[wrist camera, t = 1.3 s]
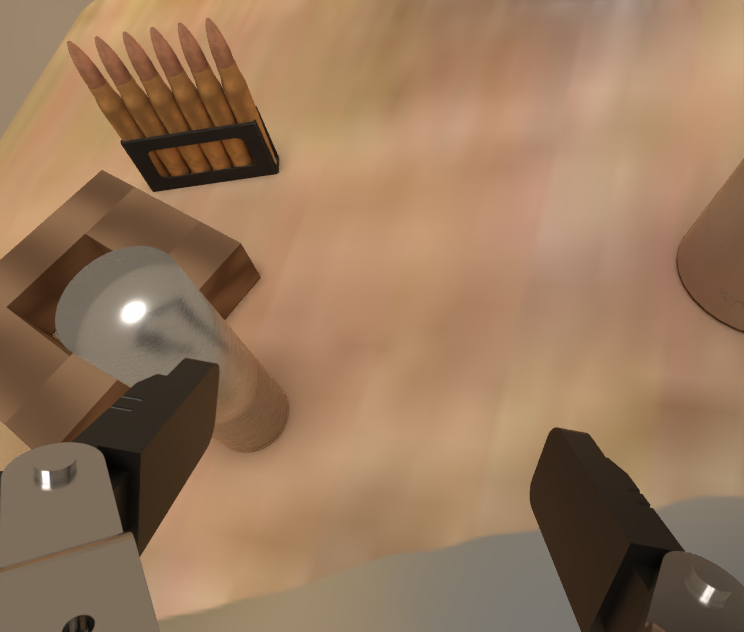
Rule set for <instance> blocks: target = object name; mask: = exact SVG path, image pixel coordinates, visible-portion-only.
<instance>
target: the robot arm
mask: <svg viewBox="0 0 744 632" xmlns="http://www.w3.org/2000/svg"><path fill="white" fill-rule="evenodd" d="M677 264H678V270H679V274H680V276H681V279H682V281H683V284H684V286H685V287H686V288H687V290H688V291H689V293H690V294H691V296H692V297H693V298H694V299H695V300H696V301H697V302H698V303H699V304H700V305H701V306H702V307H703V308H704V309H705V310H706V311H708V312H709V313H710V314H712V315H713V316H715V317H716V318H718V319H719V320H720V321H722V322H724V323H726V324H728V325H730V326H732V327H734V328H736V329H739V330H742V331H744V159H743V160H742V162H741V163H740V164H739V165H738V167H737V168H736V169H735V171H734V172H733V173H732V175H731V176H730V177H729V179H728V180H727V181H726V183H725V184H724V185H723V187H722V188H721V189H720V191H719V192H718V193H717V194H716V195H715V197H714V198H713V199H712V201H711V202H710V203H709V205H708V206H707V207H706V209H705V210H704V211H703V212H702V214H701V215H700V216H699V218H698V219H697V220H696V222H695V223H694V224H693V226H692V227H691V228H690V230H689V231H688V232H687V234H686V235H685V236H684V238H683V240H682V242H681V244H680V246H679V249H678V256H677ZM219 375H220V369H219V365H218V364H217V363H212V362H206V361H201V360H196V359H190V358H184V359H183V360H182V361H181V362H180V363H179V364H178V365H177V366H176V367H175V368H174V369H173V370H172V371H171V372H170V373H169V374H168V375H167V376H166V375H161V374H156V375H153V376H151V377H149V378H146V379H144V380H142V381H139V382H137V383H136V384H135V385H133V386H132V387H131V388H130V389H129V390H128V391H127V392H126V393H125V394H124V395H123V397H122V398H121V397H120V398H119V399H118V400H117V401H116V402H115V403H114V404H113V405H112V406H111V408H108V409H107V410H106V411H105V412H104V413H103V414H101V415H100V416H99V417H98V418H97V419H96V420H95V421H94V422H93V423H92V424H90V425H89V426H88V427H87V428H86V429H85V430H84V431H83V432H82V433H81V434H79V435H78V436H77V437H76V438H75V439H74V440H73V441H72V442H64V443H54V444H49V445H44V446H41V447H38V448H35V449H32V450H30V451H27V452H26V453H24V454H22V455H20V456H18V457H17V458H15V459H14V460H13V461H12V462H10V463H9V464H8V465H7V467H6V468H5V469H4V471H0V632H160V630H159V626H158V623H157V619H156V615H155V612H154V608H153V604H152V601H151V597H150V593H149V590H148V586H147V582H146V579H145V575H144V571H143V568H142V564H141V560H140V556H141V554H142V553H143V551H144V549H145V548H146V546H147V544H148V543H149V541H150V540H151V538H152V536H153V535H154V533H155V532H156V530H157V528H158V527H159V525H160V523H161V522H162V520H163V519H164V517H165V515H166V514H167V512H168V510H169V509H170V507H171V506H172V504H173V502H174V501H175V499H176V498H177V496H178V494H179V493H180V491H181V489H182V488H183V486H184V485H185V483H186V481H187V480H188V478H189V477H190V475H191V473H192V472H193V470H194V468H195V467H196V465H197V464H198V462H199V460H200V459H201V457H202V455H203V454H204V452H205V451H206V449H207V447H208V445H209V443H210V440H211V438H212V434H213V431H214V426H215V419H216V408H217V397H218V386H219ZM530 503H531V507H532V510H533V513H534V515H535V518H536V520H537V523H538V525H539V528H540V530H541V533H542V535H543V538H544V540H545V543H546V545H547V547H548V550H549V552H550V555H551V557H552V560H553V562H554V565H555V567H556V570H557V572H558V575H559V577H560V580H561V582H562V584H563V587H564V590H565V592H566V595H567V597H568V600H569V602H570V604H571V607H572V610H573V612H574V615H575V617H576V619H577V622H578V625H579V627H580V630H581V632H744V586H743V585H742V584H741V583H739V582H738V581H737V580H736V579H735V578H734V577H733V576H732V575H730V574H729V573H728V572H726V571H725V570H723V569H722V568H721V567H719V566H717V565H716V564H714V563H712V562H710V561H708V560H706V559H704V558H702V557H699V556H697V555H695V554H692V553H688V552H685V551H684V550H683V548H682V547H681V546H680V544H679V543H678V541H677V540H676V539H675V537H674V536H673V535H672V533H671V532H670V531H669V529H668V528H667V527H666V525H665V524H664V523H663V521H662V520H661V518H660V517H659V516H658V514H657V513H656V512H655V510H654V509H653V508H650V504H649V502H648V501H647V500H646V498H645V497H644V496H643V494H640V490H639V489H638V488H637V486H636V485H635V483H634V482H633V481H632V479H631V478H630V477H629V475H628V474H627V473H626V472H624V471H623V470H622V469H621V468H620V467H618V466H617V465H616V464H615V463H614V462H612V461H611V460H610V459H609V458H606V457H605V456H604V454H603V453H602V451H601V450H600V449H599V447H598V446H597V444H596V443H595V442H594V440H593V439H592V437H591V436H590V435H589V434H588V433H584V432H578V431H573V430H567V429H562V428H553V429H552V430H551V431H550V433H549V435H548V437H547V440H546V443H545V445H544V448H543V451H542V453H541V456H540V459H539V462H538V464H537V467H536V470H535V473H534V475H533V478H532V481H531V486H530Z"/></svg>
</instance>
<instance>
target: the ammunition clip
mask: <svg viewBox="0 0 744 632" xmlns="http://www.w3.org/2000/svg"><path fill="white" fill-rule="evenodd" d="M206 32H207V38H208V42H209V46H210V49H211V52H212V55H213V58H214V60H215V63H216V66H217V69H218V72H219V74H220V77H221V82H222V86H223V88H222V86H221V84H220V82H219V81H218V79H217V78H216V77H215V75H214V73H213V71H212V69H211V67H210V65H209V64H208V62H207V60H206V58H205V56H204V54H203V52H202V50H201V48H200V46H199V44H198V43H197V41H196V40H195V38H194V37H193V35H192V34H191V33H190V31H189V30H188V29H187V28H186V27H185V26H184V25H183V24H182V23H180V22H179V23H178V34H179V39H180V43H181V46H182V50H183V52H184V55H185V58H186V60H187V62H188V65H189V67H190V69H191V72H192V75H193V77H194V79H195V82H196V86H197V89H196V87H195V86H194V84H193V83H192V82H191V80H190V79H189V78H188V76H187V74H186V72H185V70H184V68H183V67H182V66H181V64H180V62H179V60H178V58H177V56H176V54H175V53H174V51H173V50H172V48H171V47H170V45H169V44H168V42H167V41H166V40H165V39H164V37H163V36H162V35H161V34H160V33H159V32H158V31H157V30H156V29H155V28H154V27H151V28H150V34H151V40H152V43H153V47H154V50H155V53H156V55H157V58H158V60H159V63H160V65H161V67H162V69H163V71H164V72H165V75H166V78H167V80H168V82H169V84H170V86H171V89H172V92H171V90H170V89H169V88H168V86H167V85H166V84H165V83H164V81H163V80H162V78H161V76H160V75H159V73H158V72H157V71H156V69H155V67H154V65H153V64H152V62H151V60H150V59H149V57H148V56H147V54H146V53H145V51H144V50H143V49H142V48H141V46H140V45H139V44H138V43H137V42H136V41H135V39H134V38H133V37H132V36H131V35H129V34H128V33H127V32H123V40H124V44H125V48H126V51H127V53H128V56H129V58H130V60H131V63H132V65H133V67H134V69H135V70H136V72H137V74H138V76H139V77H140V80H141V82H142V84H143V86H144V88H145V90H146V92H147V95H148V97H147V95H146V94H145V93H144V91H143V90H142V89H141V88H140V87H139V86H138V84H137V83H136V81H135V80H134V78H133V77H132V75H130V73H129V71H128V70H127V68H126V67H125V65H124V64H123V62H122V61H121V60H120V58H119V57H118V56H117V54H116V53H115V52H114V51H113V50H112V49H111V48H110V46H109V45H108V44H107V43H106V42H104V41H103V40H102V39H101V38H99V37H98V36H96V37H95V43H96V47H97V50H98V53H99V56H100V58H101V60H102V62H103V64H104V66H105V68H106V70H107V72H108V74H109V75H110V77H111V78H112V80H113V82H114V84H115V86H116V87H117V89H118V91H119V92H120V95H121V97H122V98H121V97H120V96H119V95H118V94H117V93H116V92H115V91H114V90H113V89H112V87H111V86H110V84H109V83H108V82H107V80H106V79H105V78H104V77H103V75H102V74H101V72H100V71H99V70H98V68H97V67H96V66H95V64H94V63H93V62H92V61H91V59H90V58H89V57H88V56H87V55H86V54H85V53H84V52H83V51H82V50H81V49H80V48H79V47H78V46H76V45H75V44H74V43H72V42H71V41H68V42H67V46H68V50H69V53H70V55H71V58H72V60H73V62H74V64H75V66H76V68H77V70H78V72H79V73H80V75H81V77H82V78H83V80H84V81H85V83H86V84H87V85H88V88H89V89H90V91H91V92H92V94H93V95H94V97H95V99H96V101H97V103H98V105H99V107H100V109H101V111H102V112H103V114H104V115H105V116H106V118H107V119H108V121H109V122H110V123H111V125H112V126H113V128H114V129H115V130H116V132H117V133H118V135H119V136H120V137H121V139H122V140H121V145H122V146H123V148H124V149H125V151H126V152H127V154H128V155H129V157H130V158H131V160H132V161H133V163H134V164H135V165H136V167H137V168H138V170H139V172H140V173H141V175H142V176H143V178H144V179H145V181H146V182H147V184H148V185H149V187H150V188H151V190H152V191H153V192H156V191H163V190H170V189H177V188H184V187H191V186H198V185H204V184H211V183H218V182H225V181H232V180H239V179H246V178H253V177H259V176H266V175H273V174H277V173H278V172H279V156H278V154H277V152H276V150H275V147H274V145H273V143H272V140H271V138H270V136H269V134H268V131H267V129H266V127H265V124H264V122H263V120H262V118H261V115H260V113H259V111H258V109H257V106H255V104H254V101H253V99H252V96H251V94H250V91H249V89H248V86H247V83H246V81H245V79H244V77H243V76H242V74H241V72H240V71H239V69H238V67H237V64H236V62H235V60H234V59H233V56H232V54H231V51H230V49H229V47H228V45H227V43H226V41H225V39H224V37H223V35H222V34H221V32H220V31H219V29H218V28H217V26H216V25H215V24H214V23H213V21H212V20H211V19H209V18H206ZM197 90H198V91H197ZM223 90H224V91H223ZM224 92H225V93H224ZM225 94H226V95H225ZM122 99H123V100H122ZM227 99H228V100H227ZM228 101H229V102H228ZM231 108H232V109H231Z"/></svg>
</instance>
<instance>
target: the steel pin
mask: <svg viewBox="0 0 744 632" xmlns="http://www.w3.org/2000/svg"><path fill="white" fill-rule="evenodd" d="M55 326H56V331H57V335H58V337H59V339H60V341H61V342H62V344H63V345H64V346H65V347H66V348H67V349H68V350H69V351H71V352H72V353H74V354H75V355H77V356H79V357H80V358H82V359H84V360H85V361H87V362H89V363H90V364H92V365H94V366H95V367H97V368H99V369H100V370H102V371H104V372H105V373H107V374H109V375H110V376H112V377H113V378H115V379H117V380H118V381H120V382H122V383H123V384H125V385H127V386H128V387H130V388H131V387H132V386H133V385H135V384H136V383H137V382H139V381H142V380H144V379H146V378H149V377H151V376H153V375H156V374H161V375H166V376H167V375H168V374H169V373H170V372H171V371H172V370H173V369H174V368H175V367H176V366H177V365H178V364H179V363H180V362H181V361H182V360H183V359H184V358H190V359H196V360H201V361H206V362H212V363H217V364H218V365H219V369H220V375H219V386H218V397H217V408H216V419H215V426H214V431H213V434H212V437H213V438H214V439H216V440H218V441H219V442H221V443H223V444H224V445H226V446H228V447H229V448H231V449H233V450H235V451H239V452H254V451H258V450H261V449H263V448H265V447H267V446H268V445H270V444H271V443H273V442H274V441H275V440H276V439H277V438H278V437H279V435H280V434H281V433H282V431H283V430H284V427H285V425H286V423H287V420H288V415H289V405H288V400H287V397H286V395H285V393H284V392H283V390H282V389H281V388H280V387H279V385H278V384H277V383H276V382H275V381H274V379H273V378H272V377H271V376H270V375H269V373H268V372H267V371H266V370H265V368H264V367H263V366H262V365H261V364H260V362H259V361H258V360H257V359H256V358H255V356H254V355H253V354H252V353H251V352H250V350H249V349H248V348H247V347H246V346H245V344H244V343H243V342H242V341H241V340H240V338H239V337H238V336H237V335H236V334H235V332H234V331H233V330H232V329H231V328H230V326H229V325H228V324H227V323H226V322H225V320H224V319H223V318H222V317H221V316H220V314H219V313H218V312H217V311H216V310H215V308H214V307H213V306H212V305H211V304H210V302H209V301H208V300H207V299H206V298H205V296H204V295H203V294H202V293H201V292H200V290H199V289H198V288H197V287H196V286H195V284H194V283H193V282H192V281H191V279H190V278H189V277H188V276H187V275H186V273H185V272H184V271H183V270H182V269H181V267H180V266H179V265H178V264H177V263H176V261H175V260H174V259H173V258H172V257H171V256H170V255H168V254H167V253H165V252H164V251H161V250H159V249H156V248H153V247H148V246H130V247H125V248H121V249H117V250H114V251H111V252H109V253H107V254H105V255H103V256H100V257H99V258H97V259H95V260H94V261H92V262H91V263H89V264H88V265H87V266H85V267H84V268H83V269H82V270H81V271H80V272H79V273H78V274H77V275H76V276H75V277H74V278H73V279H72V280H71V282H70V283H69V284H68V286H67V287H66V289H65V290H64V292H63V294H62V296H61V298H60V300H59V303H58V306H57V310H56V315H55Z"/></svg>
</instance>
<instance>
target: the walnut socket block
mask: <svg viewBox="0 0 744 632" xmlns="http://www.w3.org/2000/svg"><path fill="white" fill-rule="evenodd" d="M130 246H148V247H153V248H156V249H159V250H161V251H164V252H165V253H167V254H168V255H170V256H171V257H172V258H173V259H174V260H175V261H176V263H177V264H178V265H179V266H180V267H181V269H182V270H183V271H184V272H185V273H186V275H187V276H188V277H189V278H190V279H191V281H192V282H193V283H194V284H195V286H196V287H197V288H198V289H199V290H200V292H201V293H202V294H203V295H204V296H205V298H206V299H207V300H208V301H209V302H210V304H211V305H212V306H213V307H214V308H215V310H216V311H217V312H218V313H219V314H220V316H221V317H222V318H223V319H224V320H225V318H226V317H227V316H228V315H229V314H230V313H231V311H232V310H233V309H234V308H235V307H236V306H237V304H238V303H239V302H240V301H241V300H242V298H243V297H244V296H245V295H246V294H247V293H248V291H249V290H250V289H251V288H252V287H253V286H254V284H255V283H256V282H257V281H258V280H259V279H260V275H259V274H258V272H257V270H256V268H255V267H254V265H253V263H252V262H251V260H250V258H249V256H248V255H247V253H246V251H245V250H244V248H243V246H242V245H241V243H239V242H238V241H236V240H234V239H232V238H230V237H228V236H226V235H224V234H222V233H220V232H219V231H217V230H215V229H213V228H211V227H209V226H207V225H205V224H203V223H202V222H200V221H198V220H196V219H194V218H192V217H190V216H188V215H186V214H184V213H183V212H181V211H179V210H177V209H175V208H173V207H171V206H169V205H167V204H166V203H164V202H162V201H160V200H158V199H156V198H154V197H152V196H150V195H149V194H147V193H145V192H143V191H141V190H139V189H137V188H135V187H133V186H131V185H130V184H128V183H126V182H124V181H122V180H120V179H118V178H116V177H114V176H113V175H111V174H109V173H107V172H105V171H103V170H101V171H100V172H99V173H98V174H97V175H96V176H95V177H93V178H92V179H91V180H90V181H89V182H88V183H87V184H86V185H84V186H83V187H82V188H81V189H80V190H79V191H78V192H76V193H75V194H74V195H73V196H72V197H71V198H70V199H69V200H67V201H66V202H65V203H64V204H63V205H62V206H61V207H60V208H58V209H57V210H56V211H55V212H54V213H53V214H52V215H51V216H49V217H48V218H47V219H46V220H45V221H44V222H43V223H41V224H40V225H39V226H38V227H37V228H36V229H35V230H34V231H32V232H31V233H30V234H29V235H28V236H27V237H26V238H25V239H23V240H22V241H21V242H20V243H19V244H18V245H17V246H16V247H14V248H13V249H12V250H11V251H10V252H9V253H8V254H6V255H5V256H4V257H3V258H2V259H1V260H0V421H2V422H3V423H4V424H5V425H6V426H7V427H8V428H9V429H10V430H11V431H12V432H13V433H15V434H16V435H17V436H18V437H19V438H20V439H21V440H22V441H23V442H24V443H25V444H26V445H28V446H29V447H30V448H31V449H35V448H38V447H41V446H44V445H49V444H54V443H64V442H72V441H73V440H74V439H75V438H76V437H77V436H78V435H79V434H81V433H82V432H83V431H84V430H85V429H86V428H87V427H88V426H89V425H90V424H92V423H93V422H94V421H95V420H96V419H97V418H98V417H99V416H100V415H101V414H103V413H104V412H105V411H106V410H107V409H108V408H111V406H112V405H113V404H114V403H115V402H116V401H117V400H118V399H119V398H120V397H121V398H122V397H123V395H124V394H125V393H126V392H127V391H128V390H129V389H130V387H128V386H127V385H125V384H123V383H122V382H120V381H118V380H117V379H115V378H113V377H112V376H110V375H109V374H107V373H105V372H104V371H102V370H100V369H99V368H97V367H95V366H94V365H92V364H90V363H89V362H87V361H85V360H84V359H82V358H80V357H79V356H77V355H75V354H74V353H72V352H71V351H69V350H68V349H67V348H66V347H65V346H64V345H63V344H62V343H61V342H60V341H58V340H57V339H56V338H54V337H53V336H52V335H51V334H52V333H53V332H54V331H55V330H56V326H55V315H56V310H57V306H58V303H59V300H60V298H61V296H62V294H63V292H64V290H65V289H66V287H67V286H68V284H69V283H70V282H71V280H72V279H73V278H74V277H75V276H76V275H77V274H78V273H79V272H80V271H81V270H82V269H83V268H84V267H85V266H87V265H88V264H89V263H91V262H92V261H94V260H95V259H97V258H99V257H100V256H103V255H105V254H107V253H109V252H111V251H114V250H117V249H121V248H125V247H130Z"/></svg>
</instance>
